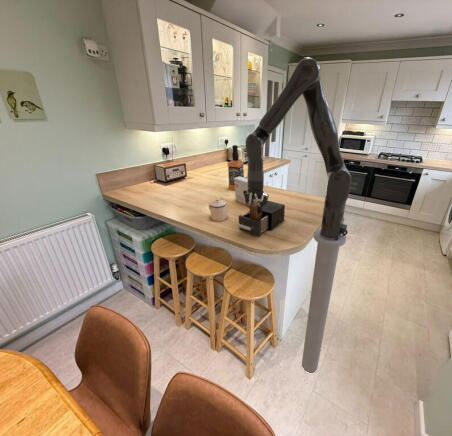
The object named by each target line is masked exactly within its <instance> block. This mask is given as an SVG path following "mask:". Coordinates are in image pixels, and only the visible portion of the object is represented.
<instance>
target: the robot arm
mask: <svg viewBox="0 0 452 436" xmlns="http://www.w3.org/2000/svg"><path fill="white" fill-rule="evenodd" d="M301 96H303V99H304V102H305V105H306V111H307V117H308V121H309V126H310V130H311V133H312V136H313V139H314V142H315V144H316V147H317V148H318V151H319V153H320V154H321V157H322V159H323V162H324V167H325V172H326V178H327V189H326V194H325V197H324V202H323V203H324V204H323V210H322V217H321V225H320V228H321V232H320V235H321V237H323V238H325V239H327V240H336V241H338V239H339V238H340V236H341V234H343V236H345V235H346V236H347V235H348V233H349V232H348V230H347V228H348V224H345V218H344V216H345V210H346V204H347V200H348V199H349V196H350V191H351V186H352V175H351V173H350V171H349V170H348V168H347V167H346V164H345V162H344V160H343V157H342V154H341V150H340V139H339V133H338V129H337V125H336V122H335V119H334V116H333V113H332V110H331V108H330V106H329V104H328V102H327V99H326V97H325V94H324V90H323V85H322V79H321V69H320V65H319V63H318V61H317V60H316V59H314V58H312V57H304V58H302V59H301V60H300V61H299V62H298V63H297V64H296V65H295V68H294V70H293V72H292V74H291V76H290V78H289V79H288V81H287V83H286V85H284V88H283V89H282V91H281V92H280V94H279V95H278V96H277V98H275V101H274V102H273V103H272V104H271V106H270V107H269V108H268V109H267V110H266V112H265V114H264V115H263V116H262V117H261V119H260V120H259V122H258V125H257V127H256V128H255V129H254V131H253V132H252V133H249V134H248V135H247V136H246V138H245V143H244V144H245V145H244V146H245V152H246V157H247V176H246V177H247V179H248V190H244V191H243V193H244V197H245V200H246V202H248V203H249V204H250V203H252V202H254V199H256V202H257V203H258V213H259V214H260V213H261V212H262V207H263V206H264V205H266V203H267V200H268V201H269V196H270V195H269V194H268V193H265V191H264V188H265V187H264V185H265V184H264V181H265V179H264V178H265V177H264V176H265V174H264V157H263V156H262V148H263V146H264V145H265V144H266V143H267V141H268V139H269V138H270V136H271V135H272V134H273V132H275V130H276V129H277V128H278V127H279V125H280V124H281V123H282V121H283V120H284V119H285V117H286V116H287V114H288V113H289V111H290V110H291V108H292V107H293V106H294V104H295V103H296V101H297V100H298V99H299V98H300V97H301ZM249 195H250V196H249ZM262 196H263V199H262ZM262 200H263V201H262ZM248 207H249V210H250V206H248Z"/></svg>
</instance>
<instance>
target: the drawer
mask: <svg viewBox="0 0 452 436" xmlns="http://www.w3.org/2000/svg"><path fill="white" fill-rule="evenodd" d="M270 216H271V215H270V214H267V213H263V212H262V219H261V220H260V221H257V220H254V219H250V210H249V211H248V212H246V213H244V214H242V215H238V224H237V227H238V230H239V231H240V232H244V233H247V234H249V235H252V236H255V237H259V238H260V237H261V235H262V234H263V233H265V232H266V230H269V229H268V228H270Z"/></svg>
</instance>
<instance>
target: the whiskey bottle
mask: <svg viewBox="0 0 452 436" xmlns="http://www.w3.org/2000/svg"><path fill="white" fill-rule="evenodd" d="M231 148H232V154H231V158H232V159H231V160H230V161H229V162H227V169H228V171H227V172H228V185H227V186H228V187H227V188H228V191H229V190H230V191H235V182H234V178H236V177H239V176H240V177H243V178H245V176H244V175H245V174H244V173H245V172H244V165H245V162H244V161H242V160H240V159H239V158H240V157H239V149H238V145H237V144H233V145H232V147H231Z"/></svg>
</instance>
